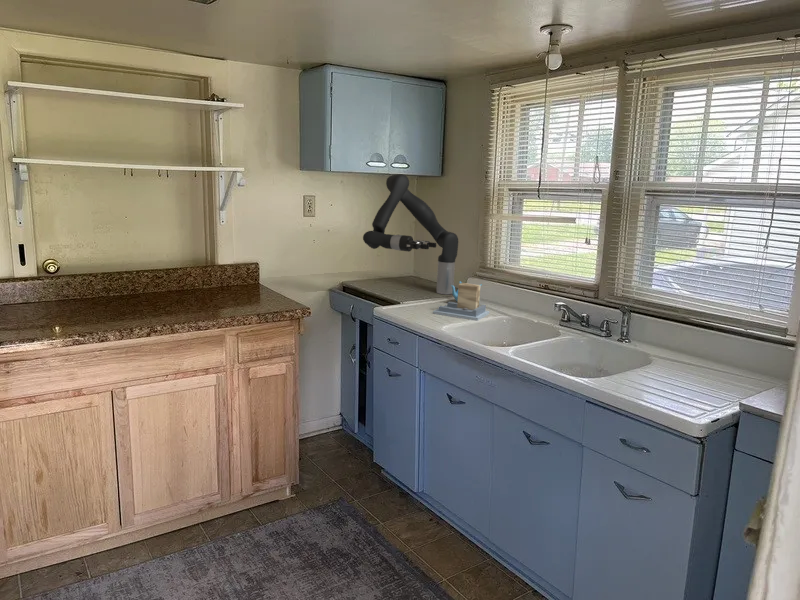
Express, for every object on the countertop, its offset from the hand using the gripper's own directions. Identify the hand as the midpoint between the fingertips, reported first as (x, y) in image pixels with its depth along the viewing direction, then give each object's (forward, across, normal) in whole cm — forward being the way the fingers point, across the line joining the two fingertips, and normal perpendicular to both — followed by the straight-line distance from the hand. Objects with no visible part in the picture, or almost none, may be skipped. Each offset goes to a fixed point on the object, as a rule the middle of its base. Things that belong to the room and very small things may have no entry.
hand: (432, 246), depth 278 cm
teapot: (+11, +20, +30) cm, 38 cm away
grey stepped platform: (+17, -1, +30) cm, 35 cm away
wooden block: (+20, -1, +29) cm, 35 cm away
